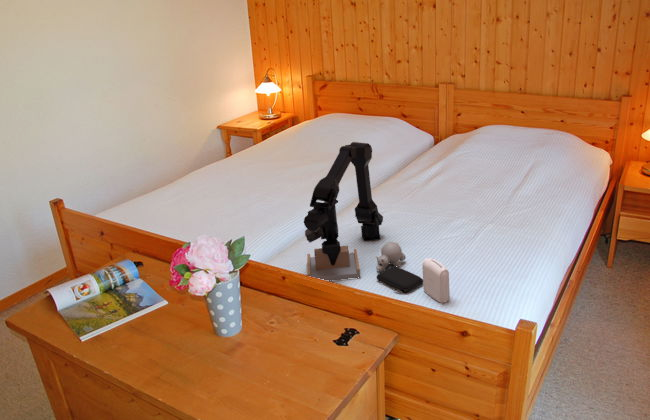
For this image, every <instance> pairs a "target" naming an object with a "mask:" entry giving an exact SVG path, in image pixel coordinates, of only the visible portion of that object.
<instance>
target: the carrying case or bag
mask: <svg viewBox="0 0 650 420" xmlns="http://www.w3.org/2000/svg"><path fill="white" fill-rule="evenodd" d="M376 280H377V282H380V283H382V284H385V285H386V286H388V287H390V288H392V290H393V291H394V292H400V293H403V294H408V293H410V292H412V291H414V290H416V289H417V288H420V287H421V286H423V277H420V276H419V275H417V274H415V273H412V272H411V271H408V270H405V269H403V268H401V267H400V266H398V267H396V266H394V265H391V266H390V267H388V268H385V270H384V271H382V272H379V273H378V274H377V275H376Z"/></svg>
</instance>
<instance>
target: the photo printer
mask: <svg viewBox="0 0 650 420" xmlns="http://www.w3.org/2000/svg"><path fill="white" fill-rule="evenodd" d="M449 272H450V271H449V270H448V269H447V267H446V266H445V265H444V264H443V263H441V262H440V261H438V260H437V259H434V258H430V257H429V258H428V257H427V258H425V259H424V260H423V262H422V279H423V284H422V287H423V288H422V289H423V291H424V292H425V293H426V294H427V295H428V296H430V297H431V298H432V299H434V300H435V301H437V302H438V303H441V304H443V303H448V301H449V300H450V273H449Z"/></svg>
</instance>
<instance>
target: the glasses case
mask: <svg viewBox="0 0 650 420" xmlns="http://www.w3.org/2000/svg"><path fill="white" fill-rule="evenodd" d="M340 248H341V251H340V253H339V255H338V257H337V260H336V263H335V265H333V266H332V265H331V263H330V260H329V257H328V255H327V254H324V253H322V247H321V248H320V247H319V248H314V249H313V250H314V252H313V253H314V257H315V263H316V270H320V269H330V268H340V267H350V259H349V253H350V250H349V245H340Z"/></svg>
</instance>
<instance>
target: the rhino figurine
mask: <svg viewBox="0 0 650 420" xmlns="http://www.w3.org/2000/svg"><path fill="white" fill-rule="evenodd" d="M380 254H381V255H380V256H377V255H376V256H375V258H376V262H377V265H376V266H375V268H376V270H377V271H378V272H380V271H381V272H382V271H384V270H386V268H387V266H389V265H391V263H392V266H398V267H400V265H401V262H402V261H403V262H404V261H405V260H406V258H407V257H406V255H405V253H404V252H402V248H401V246H400V245H399V243H398V242H395V241H388V242H386V243H384V244H383V245H382V247H381V250H380ZM389 263H390V264H389ZM381 272H380V273H381Z"/></svg>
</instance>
